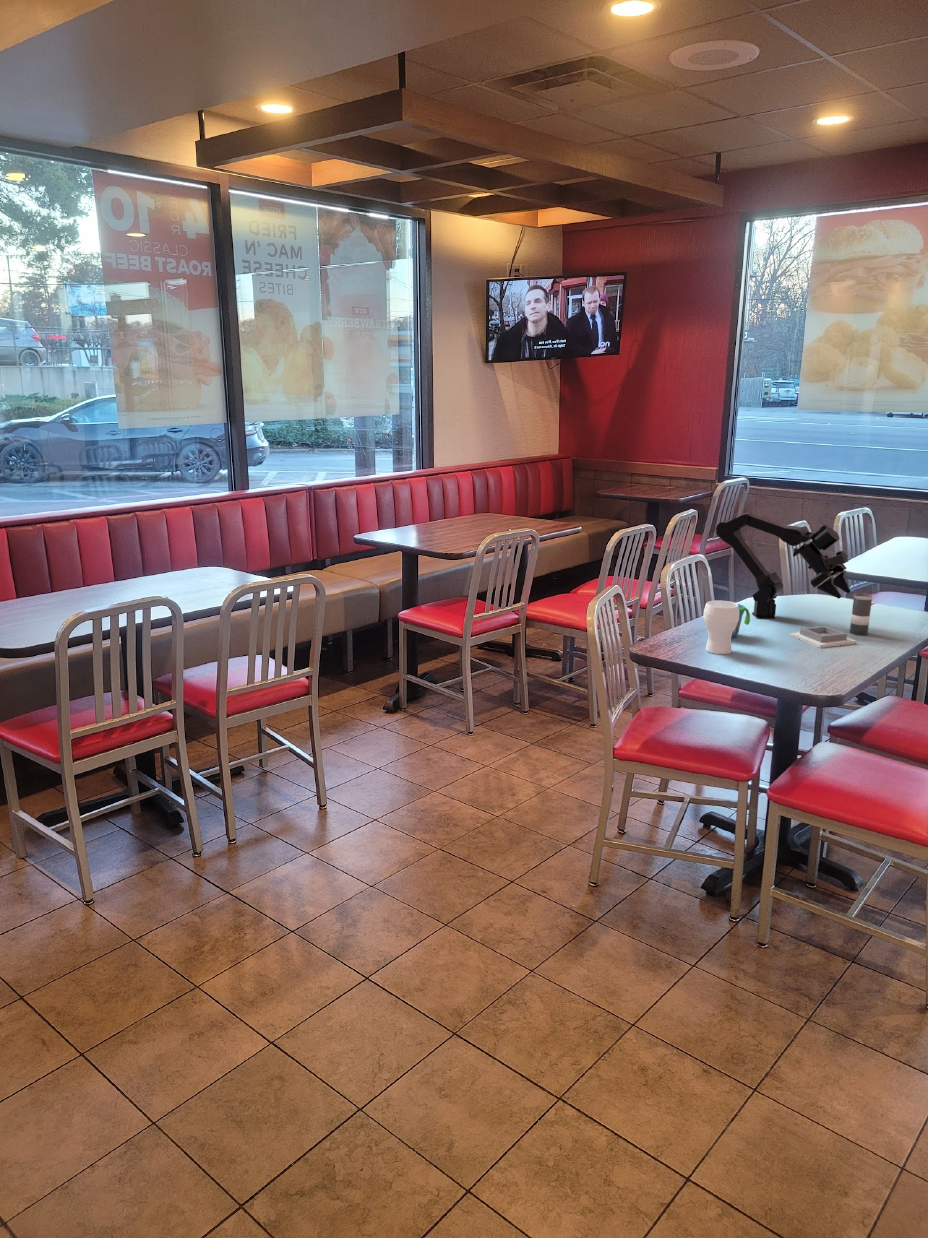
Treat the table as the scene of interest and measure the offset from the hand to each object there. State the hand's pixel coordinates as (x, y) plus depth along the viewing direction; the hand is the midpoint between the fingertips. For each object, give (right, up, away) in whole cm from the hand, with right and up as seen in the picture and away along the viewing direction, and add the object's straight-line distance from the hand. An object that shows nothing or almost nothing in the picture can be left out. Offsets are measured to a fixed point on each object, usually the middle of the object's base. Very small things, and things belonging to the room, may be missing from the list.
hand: (844, 595), depth 299 cm
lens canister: (+4, -13, 0) cm, 13 cm away
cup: (-48, -18, -19) cm, 55 cm away
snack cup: (-41, -14, -3) cm, 43 cm away
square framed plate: (-11, -15, -8) cm, 20 cm away
